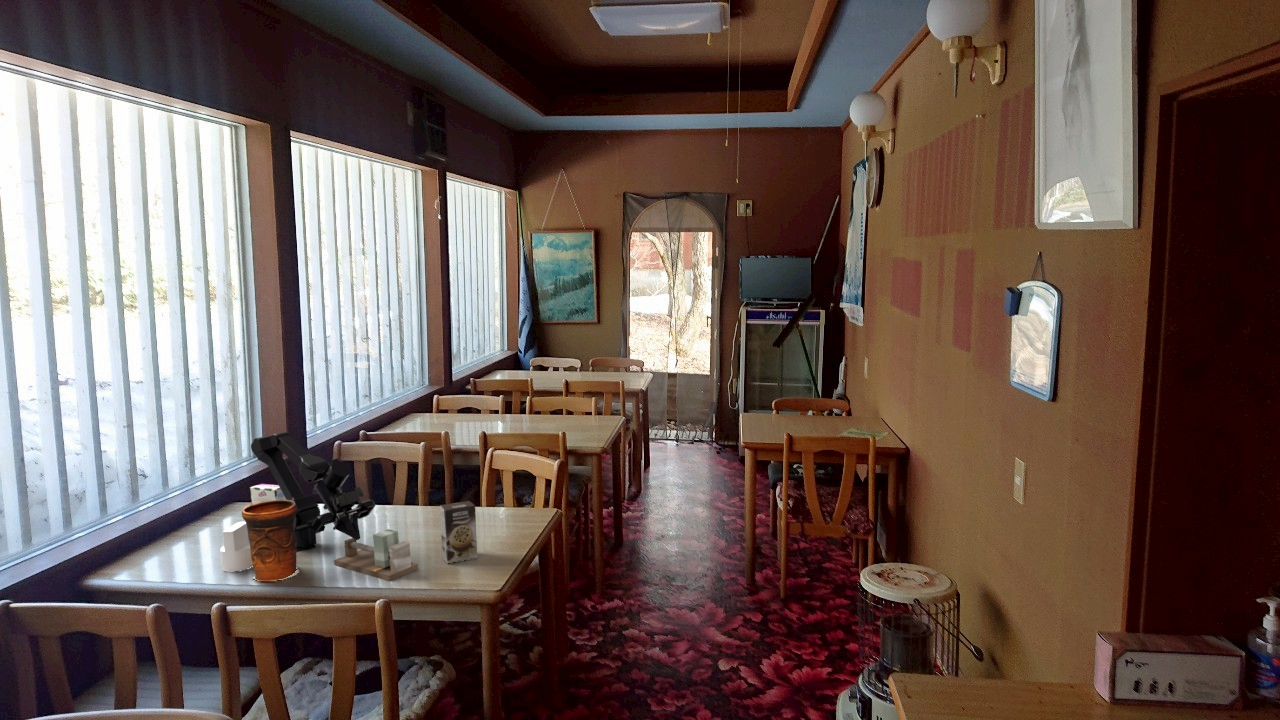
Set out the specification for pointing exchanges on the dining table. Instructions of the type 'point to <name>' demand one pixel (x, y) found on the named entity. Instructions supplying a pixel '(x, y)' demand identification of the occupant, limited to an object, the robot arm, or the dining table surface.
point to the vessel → (272, 538)
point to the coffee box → (458, 531)
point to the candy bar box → (266, 493)
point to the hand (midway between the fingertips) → (358, 539)
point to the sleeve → (384, 546)
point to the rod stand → (366, 560)
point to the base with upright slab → (236, 548)
